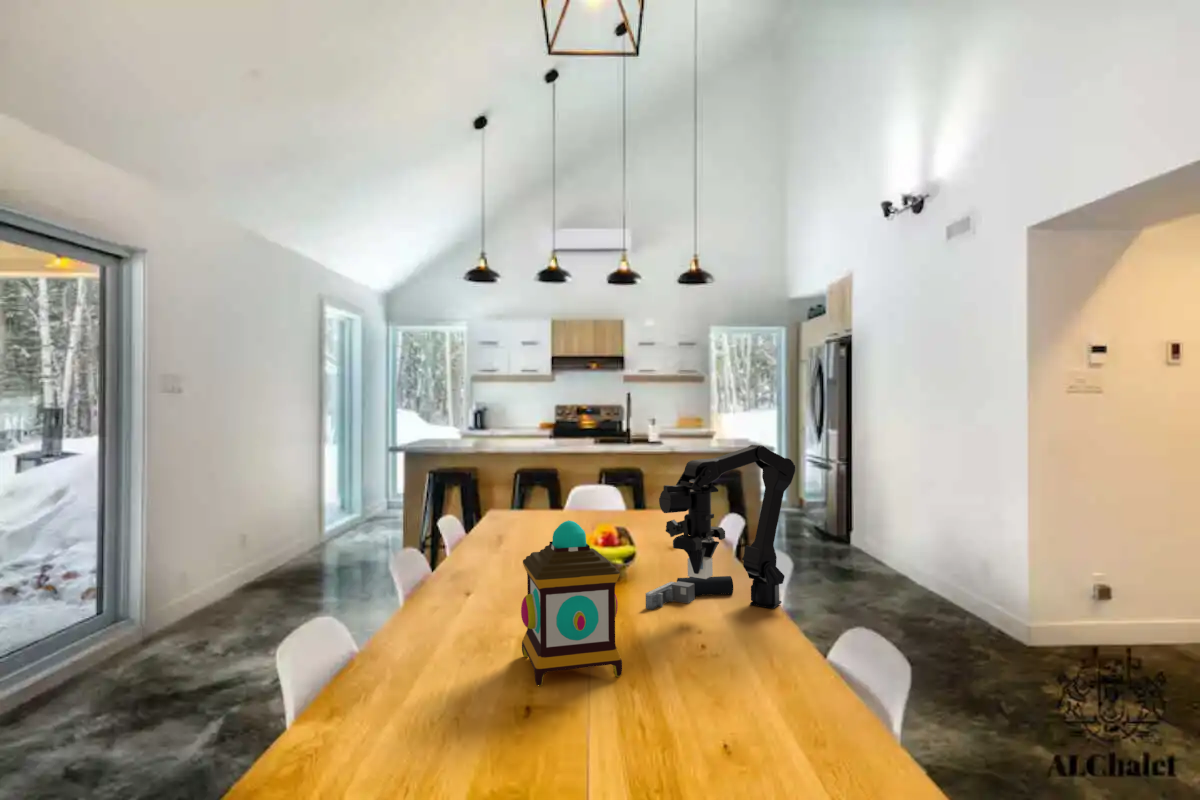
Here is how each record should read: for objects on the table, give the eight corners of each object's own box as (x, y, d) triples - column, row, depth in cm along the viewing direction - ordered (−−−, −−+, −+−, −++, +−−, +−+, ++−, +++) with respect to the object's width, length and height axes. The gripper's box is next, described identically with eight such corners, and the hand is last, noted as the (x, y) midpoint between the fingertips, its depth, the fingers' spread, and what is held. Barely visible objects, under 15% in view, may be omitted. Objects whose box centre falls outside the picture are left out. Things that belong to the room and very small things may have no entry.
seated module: (694, 600, 189) (694, 583, 189) (688, 603, 186) (688, 587, 186) (678, 597, 192) (678, 581, 192) (671, 601, 188) (671, 584, 188)
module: (712, 575, 176) (712, 557, 176) (705, 578, 172) (705, 560, 172) (694, 572, 179) (694, 555, 179) (687, 576, 175) (687, 558, 175)
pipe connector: (671, 569, 203) (721, 567, 204) (671, 587, 203) (721, 585, 204) (680, 580, 191) (733, 578, 193) (680, 599, 191) (733, 597, 193)
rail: (680, 597, 191) (680, 583, 191) (655, 610, 180) (655, 594, 180) (671, 595, 193) (671, 581, 193) (645, 608, 181) (645, 593, 181)
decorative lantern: (530, 691, 130) (528, 532, 130) (514, 654, 149) (513, 515, 149) (631, 679, 135) (630, 526, 135) (603, 645, 154) (602, 510, 154)
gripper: (687, 503, 188) (688, 560, 188) (653, 512, 172) (654, 575, 172) (725, 506, 182) (726, 565, 182) (694, 516, 166) (694, 581, 166)
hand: (700, 571), depth 176 cm, fingers closed on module, 4 cm apart
